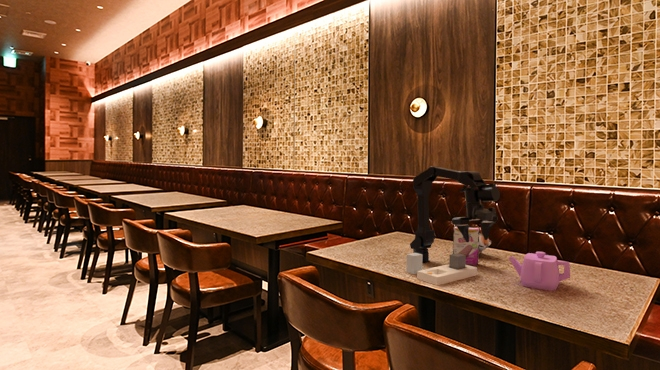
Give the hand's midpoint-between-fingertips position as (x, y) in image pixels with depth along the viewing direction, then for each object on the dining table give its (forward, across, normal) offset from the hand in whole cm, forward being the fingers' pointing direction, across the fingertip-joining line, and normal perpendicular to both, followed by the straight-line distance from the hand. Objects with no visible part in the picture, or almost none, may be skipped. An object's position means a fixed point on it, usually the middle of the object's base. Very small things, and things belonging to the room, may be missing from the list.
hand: (476, 241), depth 162 cm
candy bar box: (+12, +9, +19) cm, 25 cm away
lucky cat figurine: (+11, +25, +34) cm, 44 cm away
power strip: (+14, -13, +4) cm, 19 cm away
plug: (+12, -22, +14) cm, 28 cm away
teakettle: (+17, +15, -14) cm, 27 cm away
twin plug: (+13, -7, +5) cm, 16 cm away
